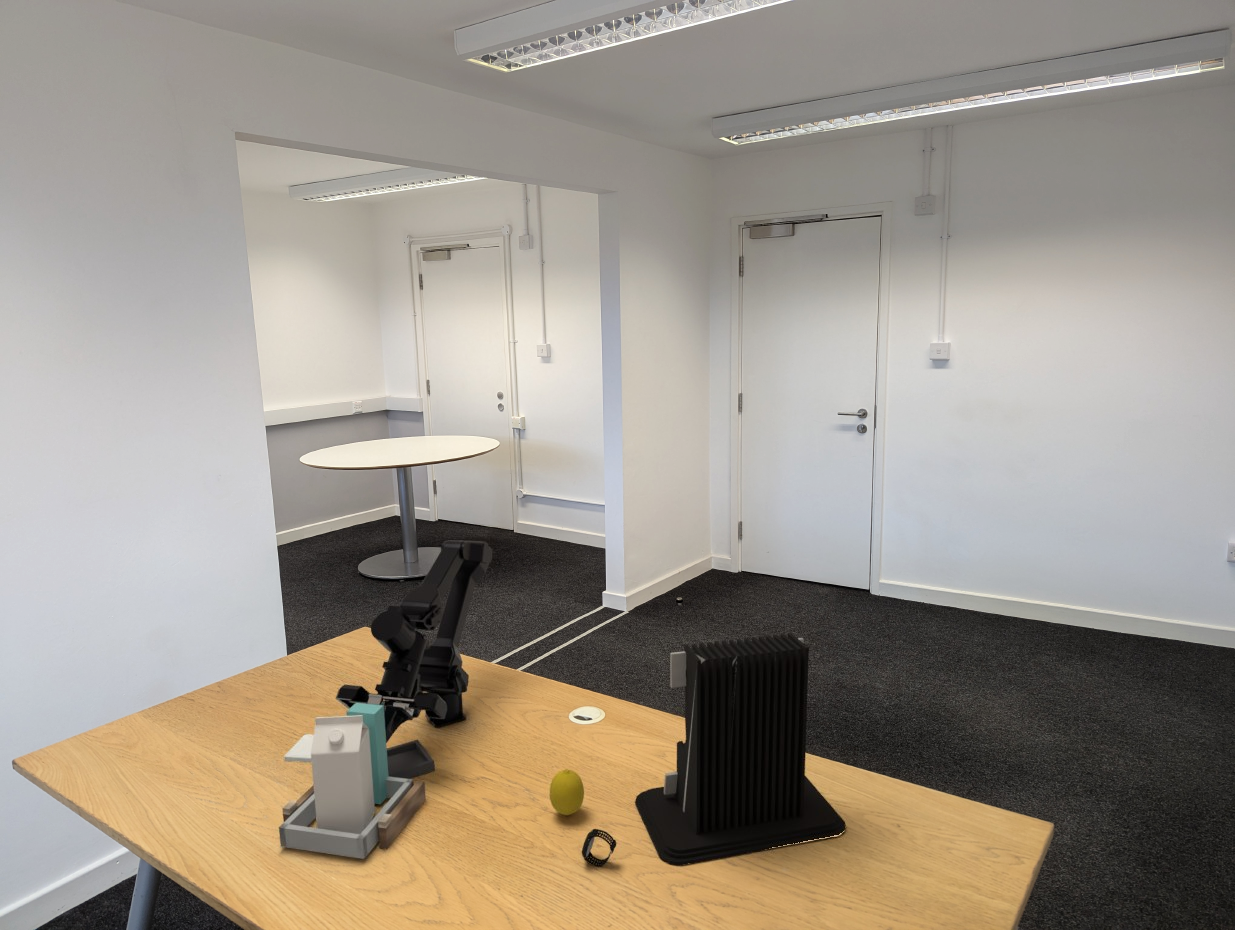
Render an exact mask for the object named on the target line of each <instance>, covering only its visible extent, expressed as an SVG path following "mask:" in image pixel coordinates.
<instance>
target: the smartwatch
mask: <svg viewBox="0 0 1235 930" xmlns="http://www.w3.org/2000/svg"><path fill="white" fill-rule="evenodd" d="M595 838H600V839H602V840H603V841H604V842H606V843H607V844H608V845H609V849H610V851H609V854H608V856H607V857H605V858H603V859H601V858H597V857H596V856H594V855H593V854H592V852H591V851H592V848H593V846H594V842H595ZM616 847H617V840H616V839H614V838H613V836H612V835H611V834H610V833H609V832H607V831H605V830H602V829H598V828H593V829H592V830H591V831H589V832H588V833H587V835H586V837H585V839H584V841H583V846H582V850H581V855H582V857H583V860H584V861H585V862H587V863H588V864H590V865H592V866H594V867H597V868H598V867H599V868H600V867H603V866H605V865H606V864H607V863H608V861H609V859H610V857H611V855H612V854H613V853H614V851H615V848H616Z"/></svg>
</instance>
